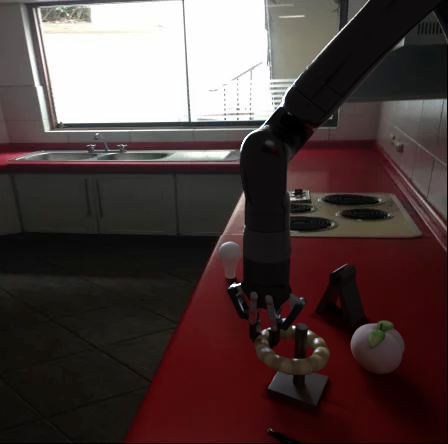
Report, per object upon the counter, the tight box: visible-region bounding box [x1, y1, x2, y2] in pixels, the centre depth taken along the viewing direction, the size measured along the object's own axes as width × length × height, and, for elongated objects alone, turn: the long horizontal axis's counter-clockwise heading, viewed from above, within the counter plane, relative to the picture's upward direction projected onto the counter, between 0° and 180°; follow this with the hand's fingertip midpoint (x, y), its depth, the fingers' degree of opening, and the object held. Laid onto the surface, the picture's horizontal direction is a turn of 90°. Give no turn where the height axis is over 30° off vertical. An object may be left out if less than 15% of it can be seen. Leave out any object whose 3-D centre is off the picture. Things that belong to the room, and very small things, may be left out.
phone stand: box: [314, 263, 366, 327], centre depth 90 cm, size 9×6×12 cm, turn 40°
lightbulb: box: [218, 241, 243, 280], centre depth 111 cm, size 6×6×11 cm
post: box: [267, 322, 329, 414], centre depth 70 cm, size 8×8×12 cm
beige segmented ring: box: [253, 324, 331, 375], centre depth 70 cm, size 12×12×2 cm
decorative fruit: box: [350, 320, 405, 375], centre depth 74 cm, size 9×8×10 cm
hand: (264, 343), depth 73 cm, fingers closed on beige segmented ring, 2 cm apart
